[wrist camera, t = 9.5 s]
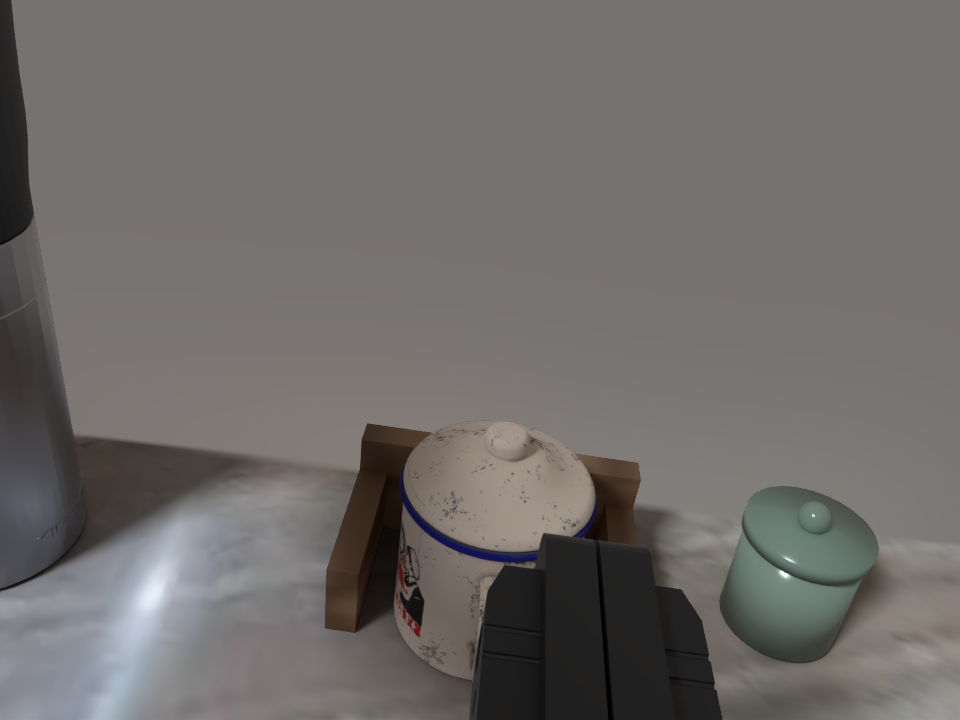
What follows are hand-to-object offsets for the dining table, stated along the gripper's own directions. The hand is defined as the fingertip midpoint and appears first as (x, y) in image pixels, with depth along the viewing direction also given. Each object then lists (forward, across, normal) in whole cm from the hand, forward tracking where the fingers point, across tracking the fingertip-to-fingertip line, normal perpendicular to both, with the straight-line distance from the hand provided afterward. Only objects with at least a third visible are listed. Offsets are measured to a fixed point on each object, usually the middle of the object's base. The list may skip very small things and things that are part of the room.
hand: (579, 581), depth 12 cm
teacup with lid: (+18, 0, +24) cm, 30 cm away
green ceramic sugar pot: (+22, -16, +24) cm, 36 cm away
